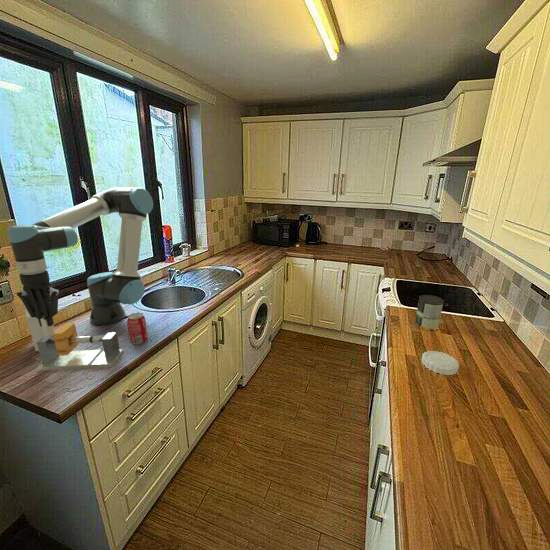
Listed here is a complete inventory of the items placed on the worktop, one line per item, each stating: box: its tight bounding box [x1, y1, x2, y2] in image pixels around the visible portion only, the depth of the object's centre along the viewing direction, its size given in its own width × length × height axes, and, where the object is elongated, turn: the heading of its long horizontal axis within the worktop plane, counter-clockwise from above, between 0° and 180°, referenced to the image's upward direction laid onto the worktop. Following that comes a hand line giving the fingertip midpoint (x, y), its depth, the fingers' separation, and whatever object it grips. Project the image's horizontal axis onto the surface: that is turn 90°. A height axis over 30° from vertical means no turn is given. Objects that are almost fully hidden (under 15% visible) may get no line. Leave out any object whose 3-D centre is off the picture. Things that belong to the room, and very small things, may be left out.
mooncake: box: [420, 350, 460, 376], centre depth 105 cm, size 12×12×4 cm
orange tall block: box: [53, 322, 80, 356], centre depth 104 cm, size 3×8×9 cm, turn 6°
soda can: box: [126, 312, 149, 345], centre depth 119 cm, size 7×7×12 cm
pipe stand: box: [37, 331, 124, 372], centre depth 106 cm, size 25×10×10 cm, turn 96°
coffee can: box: [414, 294, 445, 329], centre depth 135 cm, size 10×10×14 cm
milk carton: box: [23, 304, 56, 352], centre depth 115 cm, size 7×7×19 cm
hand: (49, 333), depth 103 cm, fingers closed
